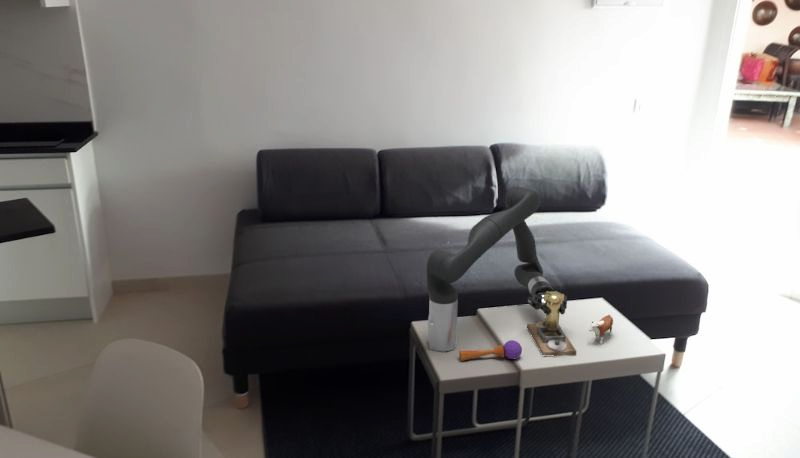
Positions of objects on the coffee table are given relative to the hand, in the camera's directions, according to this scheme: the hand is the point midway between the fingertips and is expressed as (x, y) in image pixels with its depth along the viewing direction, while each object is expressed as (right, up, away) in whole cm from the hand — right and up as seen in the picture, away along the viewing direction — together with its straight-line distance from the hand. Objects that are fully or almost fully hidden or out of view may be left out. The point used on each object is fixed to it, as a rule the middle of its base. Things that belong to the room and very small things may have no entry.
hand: (555, 312), depth 207 cm
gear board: (0, -11, +6) cm, 12 cm away
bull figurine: (+17, -11, +7) cm, 21 cm away
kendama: (-22, -15, -4) cm, 27 cm away
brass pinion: (0, -6, +5) cm, 8 cm away
